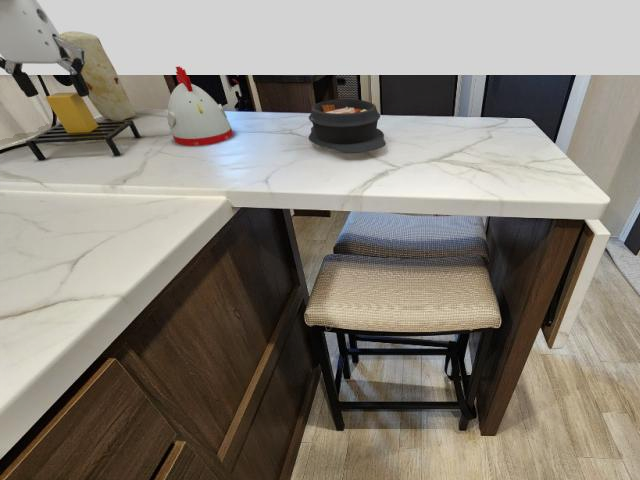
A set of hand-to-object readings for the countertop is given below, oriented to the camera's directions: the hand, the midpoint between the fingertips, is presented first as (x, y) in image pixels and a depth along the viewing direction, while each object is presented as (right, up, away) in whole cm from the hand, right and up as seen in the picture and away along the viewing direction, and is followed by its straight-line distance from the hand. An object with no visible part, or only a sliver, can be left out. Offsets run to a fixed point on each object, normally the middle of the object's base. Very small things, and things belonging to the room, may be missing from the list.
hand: (59, 95), depth 71 cm
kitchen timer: (+23, -2, +14) cm, 27 cm away
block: (+1, -5, +5) cm, 7 cm away
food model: (-9, +9, +26) cm, 28 cm away
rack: (0, -8, +8) cm, 11 cm away
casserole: (+61, -5, +12) cm, 62 cm away
